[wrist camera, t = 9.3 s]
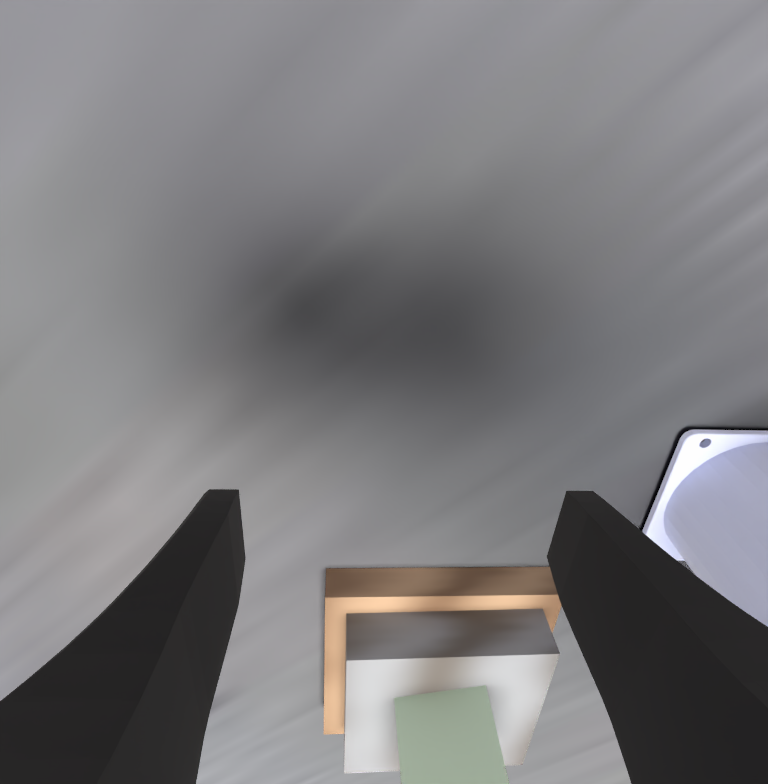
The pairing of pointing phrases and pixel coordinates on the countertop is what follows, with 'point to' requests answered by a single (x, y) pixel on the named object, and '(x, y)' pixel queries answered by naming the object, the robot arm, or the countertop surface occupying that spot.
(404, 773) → the green block
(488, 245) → the countertop surface
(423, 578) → the tower base
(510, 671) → the tower top
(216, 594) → the robot arm
